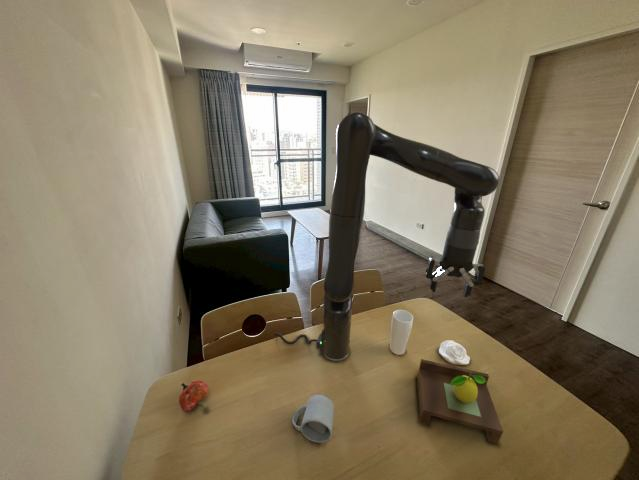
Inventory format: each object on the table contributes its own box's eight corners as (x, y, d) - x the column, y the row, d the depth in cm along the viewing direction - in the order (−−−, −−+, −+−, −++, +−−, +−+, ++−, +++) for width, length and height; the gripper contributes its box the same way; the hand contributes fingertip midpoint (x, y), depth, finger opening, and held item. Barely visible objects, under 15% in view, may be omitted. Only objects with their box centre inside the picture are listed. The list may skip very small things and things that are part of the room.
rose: (449, 331, 92) (477, 347, 85) (446, 340, 94) (474, 357, 87) (435, 344, 86) (464, 362, 79) (433, 354, 88) (461, 372, 81)
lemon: (479, 399, 67) (489, 372, 64) (473, 415, 63) (484, 388, 60) (452, 383, 72) (460, 357, 68) (445, 398, 68) (453, 371, 64)
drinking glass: (404, 343, 92) (411, 310, 87) (409, 358, 86) (416, 323, 80) (386, 341, 93) (391, 308, 87) (389, 356, 87) (394, 321, 81)
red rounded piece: (215, 401, 73) (195, 373, 75) (219, 398, 68) (198, 369, 70) (191, 424, 68) (170, 394, 70) (193, 423, 63) (171, 390, 65)
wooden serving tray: (420, 422, 67) (425, 402, 64) (416, 377, 79) (421, 358, 76) (497, 444, 62) (507, 423, 59) (480, 393, 75) (488, 373, 72)
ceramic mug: (334, 412, 69) (335, 392, 66) (331, 445, 61) (331, 425, 58) (296, 406, 70) (295, 387, 67) (289, 438, 63) (287, 418, 60)
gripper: (486, 240, 69) (472, 290, 75) (431, 234, 73) (421, 282, 79) (496, 251, 62) (479, 305, 68) (434, 244, 66) (423, 296, 72)
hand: (448, 293), depth 73 cm, fingers open, 8 cm apart
